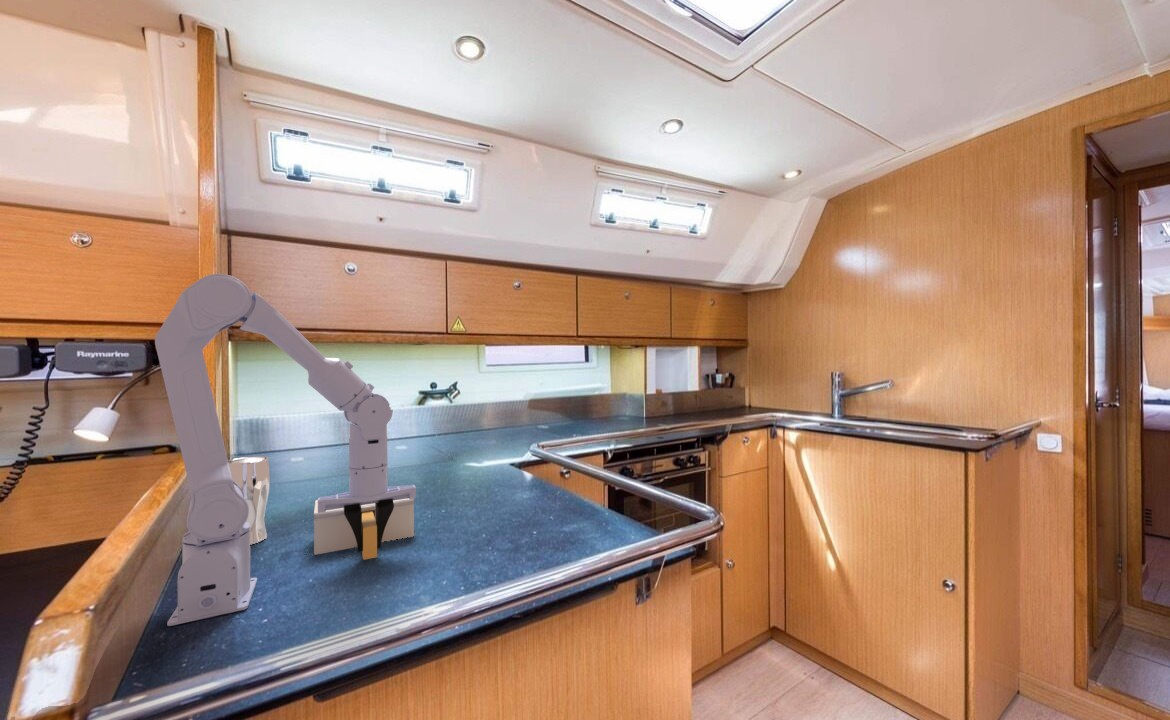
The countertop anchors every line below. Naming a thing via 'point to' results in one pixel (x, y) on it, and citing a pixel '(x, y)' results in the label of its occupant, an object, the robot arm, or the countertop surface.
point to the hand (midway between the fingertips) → (369, 548)
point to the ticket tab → (369, 535)
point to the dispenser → (339, 535)
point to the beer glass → (253, 491)
